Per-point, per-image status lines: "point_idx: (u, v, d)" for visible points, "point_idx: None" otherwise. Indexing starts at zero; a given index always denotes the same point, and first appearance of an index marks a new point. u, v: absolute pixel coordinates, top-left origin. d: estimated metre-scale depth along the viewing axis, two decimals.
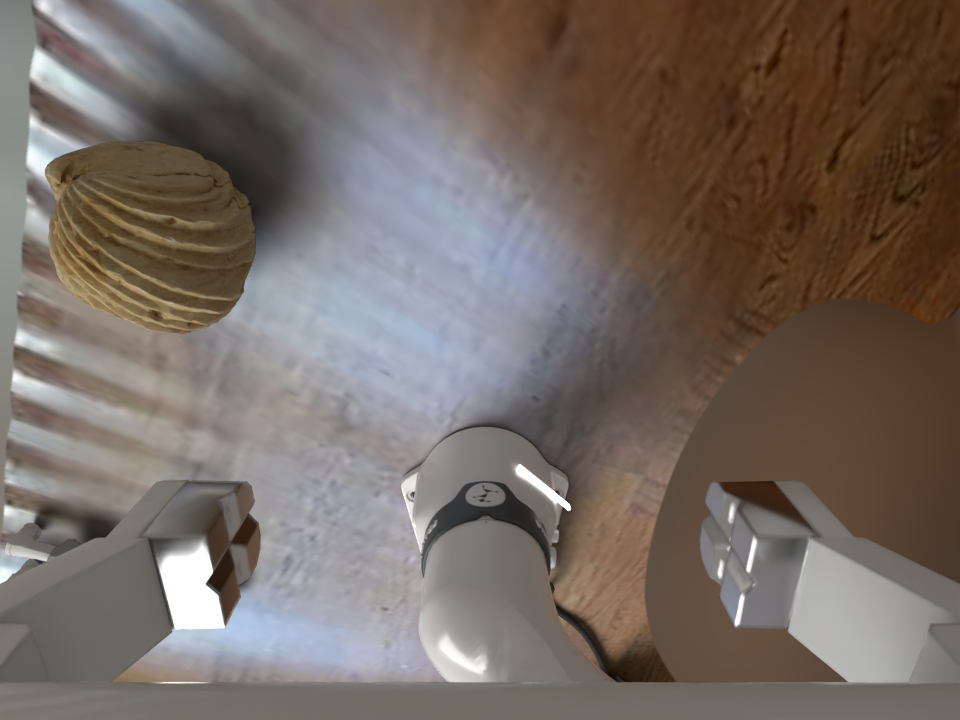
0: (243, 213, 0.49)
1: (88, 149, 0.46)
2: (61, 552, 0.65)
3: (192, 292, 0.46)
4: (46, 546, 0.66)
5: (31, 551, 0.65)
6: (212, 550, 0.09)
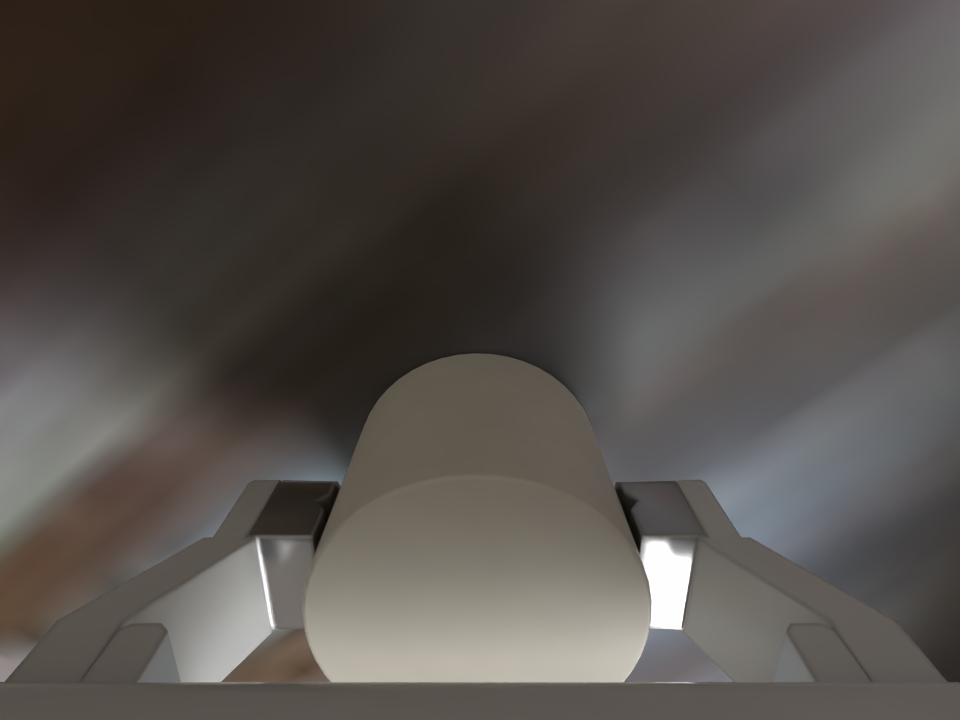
0: None
1: None
2: None
3: None
4: None
5: None
6: None
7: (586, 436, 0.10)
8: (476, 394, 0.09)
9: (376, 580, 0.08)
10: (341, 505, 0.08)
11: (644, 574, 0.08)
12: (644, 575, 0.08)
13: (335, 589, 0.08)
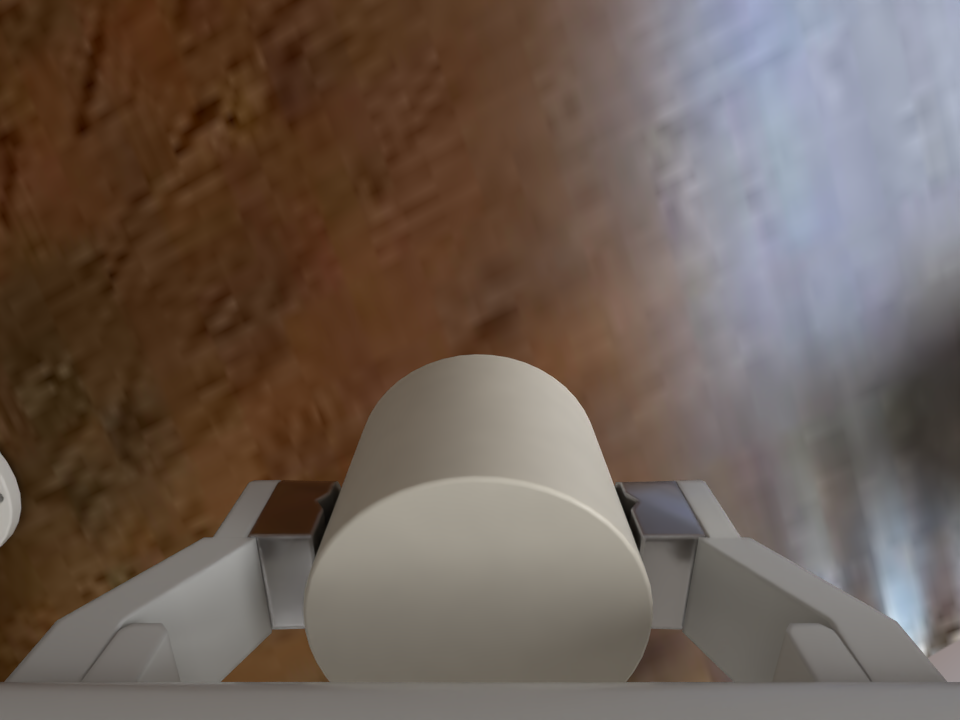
0: None
1: None
2: None
3: None
4: None
5: None
6: (315, 550, 0.09)
7: (587, 437, 0.10)
8: (476, 395, 0.09)
9: (377, 582, 0.08)
10: (342, 507, 0.08)
11: (645, 576, 0.08)
12: (645, 577, 0.08)
13: (336, 591, 0.08)
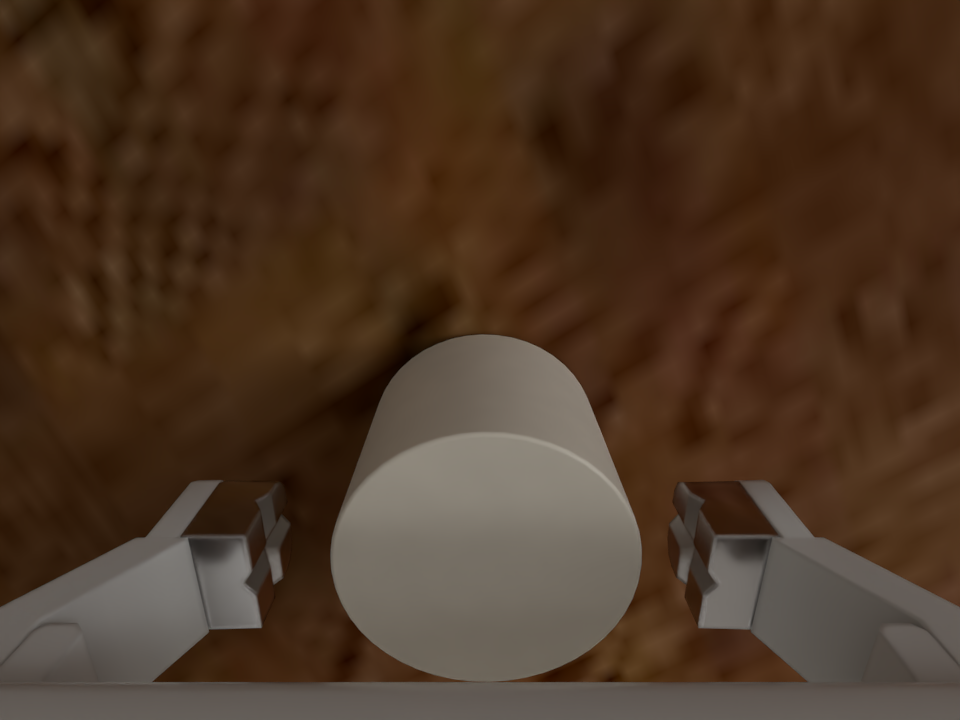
0: None
1: None
2: None
3: None
4: None
5: None
6: (250, 550, 0.09)
7: (583, 407, 0.11)
8: (484, 368, 0.10)
9: (397, 528, 0.09)
10: (364, 464, 0.09)
11: (634, 523, 0.09)
12: (634, 524, 0.09)
13: (360, 537, 0.09)
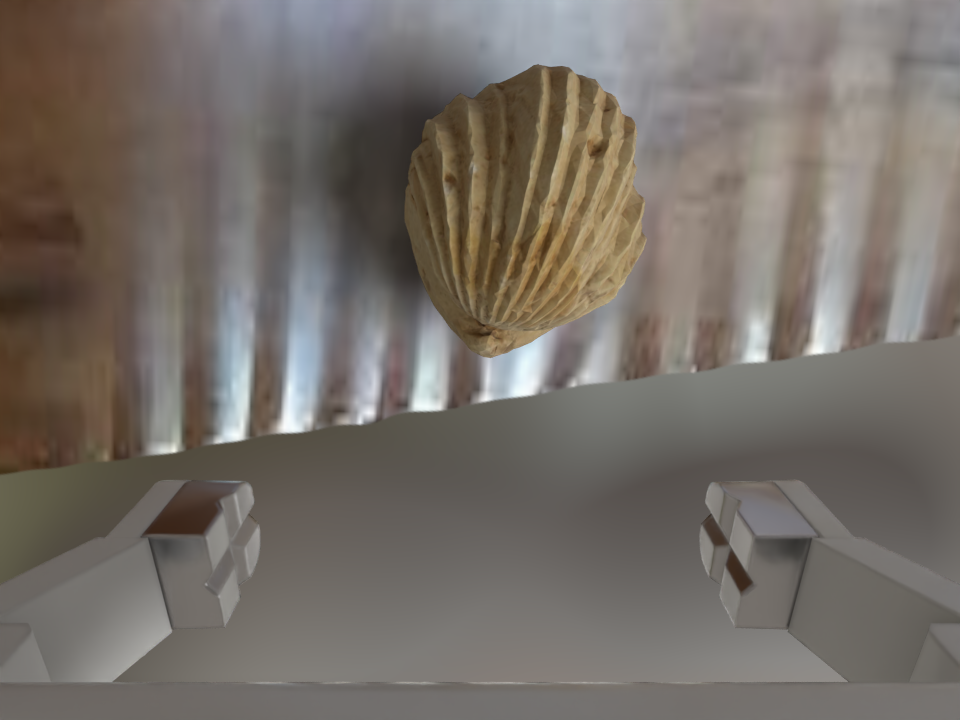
0: None
1: (448, 323, 0.38)
2: None
3: (539, 110, 0.28)
4: None
5: None
6: (212, 550, 0.09)
7: None
8: None
9: None
10: None
11: None
12: None
13: None
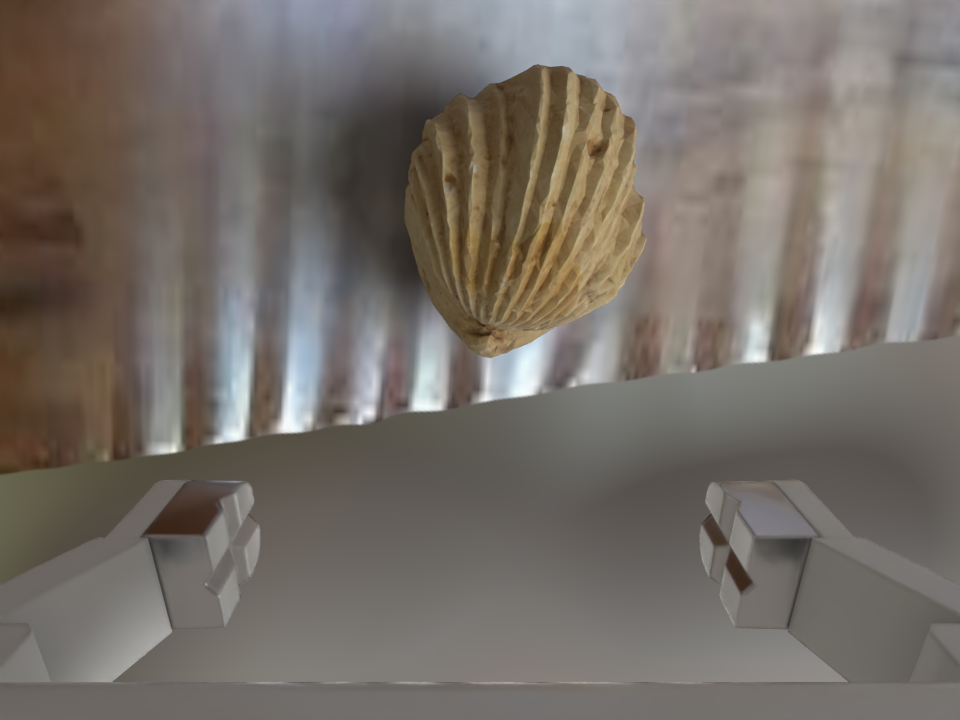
0: None
1: (448, 323, 0.38)
2: None
3: (539, 110, 0.28)
4: None
5: None
6: (212, 550, 0.09)
7: None
8: None
9: None
10: None
11: None
12: None
13: None
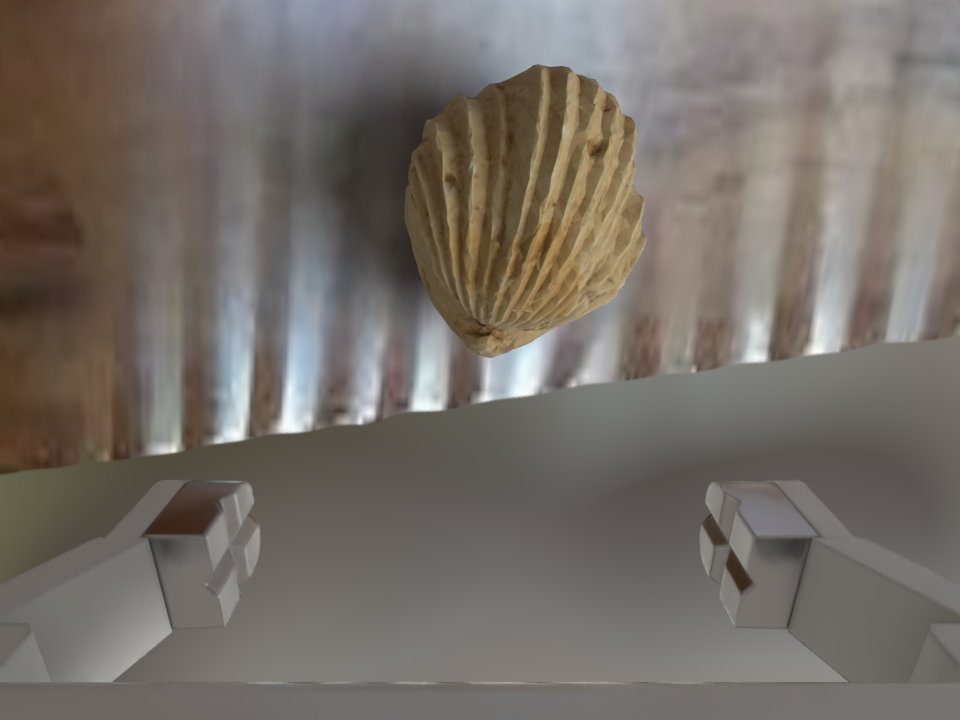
0: None
1: (448, 323, 0.38)
2: None
3: (539, 110, 0.28)
4: None
5: None
6: (212, 550, 0.09)
7: None
8: None
9: None
10: None
11: None
12: None
13: None
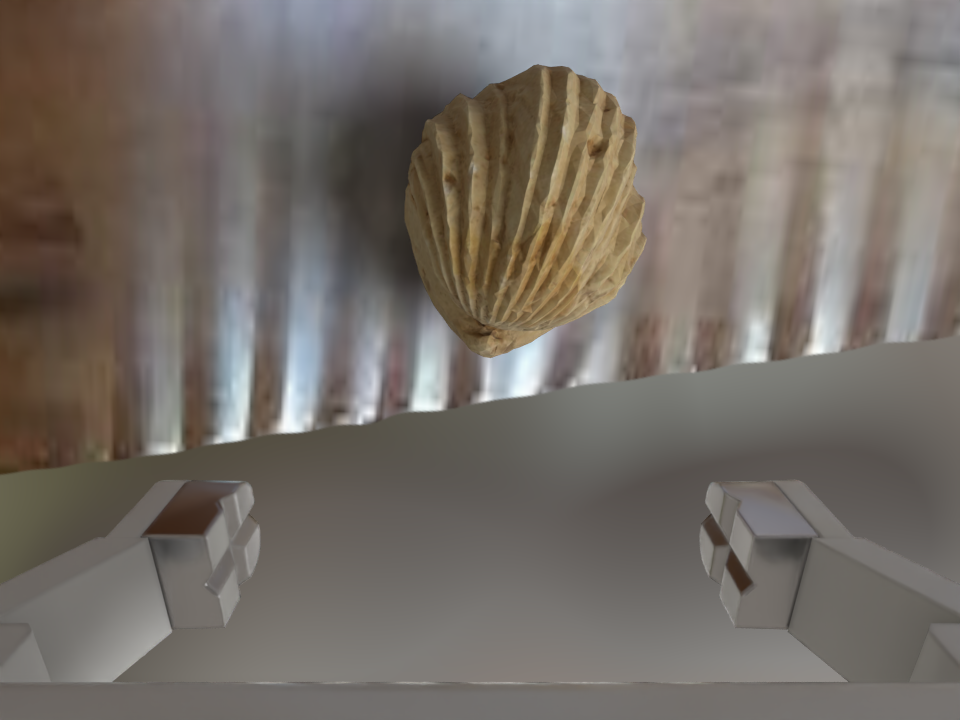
0: None
1: (448, 323, 0.38)
2: None
3: (539, 110, 0.28)
4: None
5: None
6: (212, 550, 0.09)
7: None
8: None
9: None
10: None
11: None
12: None
13: None
